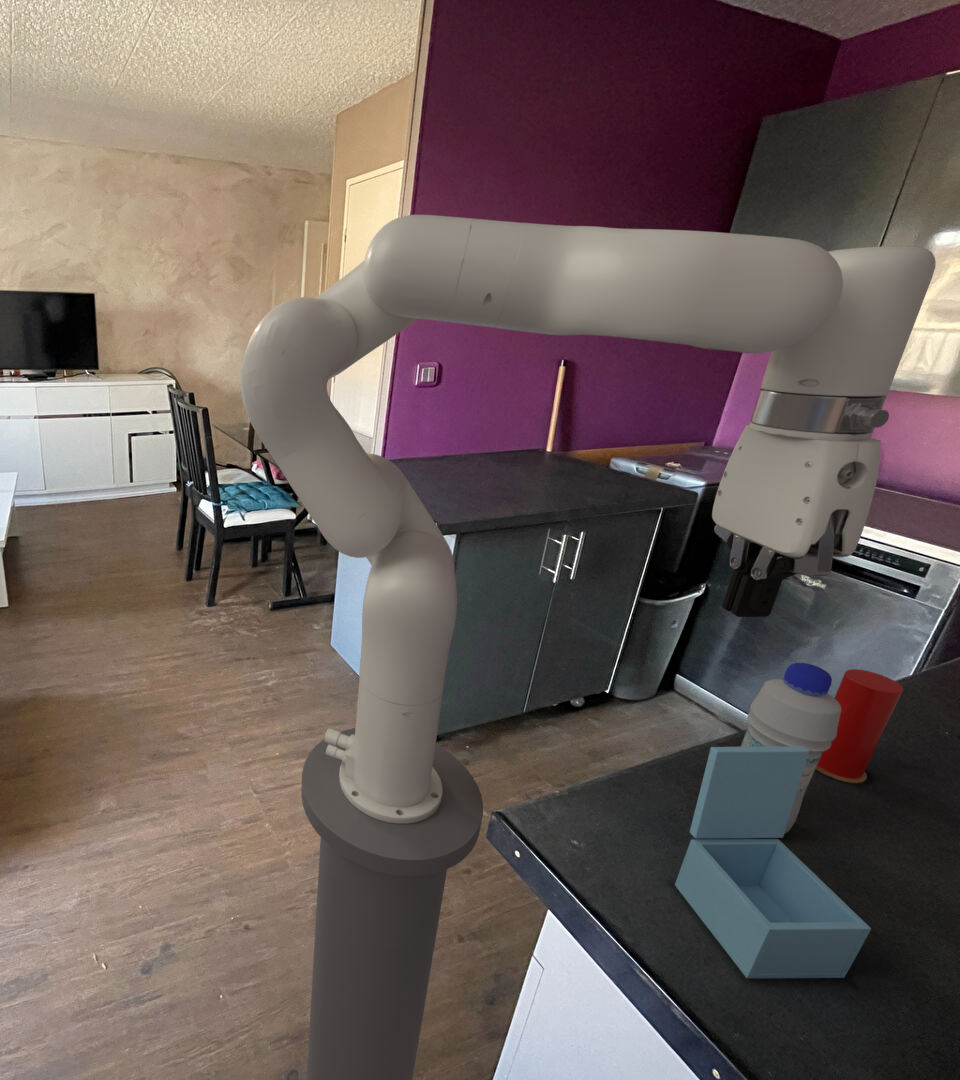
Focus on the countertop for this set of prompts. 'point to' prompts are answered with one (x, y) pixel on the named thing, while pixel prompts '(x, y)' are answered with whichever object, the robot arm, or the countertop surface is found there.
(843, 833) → the countertop surface
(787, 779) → the cooler lid
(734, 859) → the box
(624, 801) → the countertop surface
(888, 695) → the can
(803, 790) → the bottle
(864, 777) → the coaster
